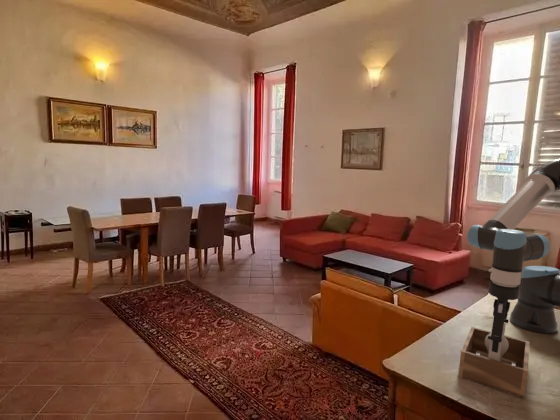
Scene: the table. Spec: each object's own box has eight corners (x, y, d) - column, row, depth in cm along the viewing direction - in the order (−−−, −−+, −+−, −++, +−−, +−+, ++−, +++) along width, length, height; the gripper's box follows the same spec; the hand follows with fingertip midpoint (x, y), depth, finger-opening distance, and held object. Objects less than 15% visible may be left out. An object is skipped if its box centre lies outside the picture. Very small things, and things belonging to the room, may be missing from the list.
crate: (469, 348, 122) (471, 326, 121) (526, 365, 113) (529, 341, 112) (458, 376, 106) (461, 351, 105) (524, 398, 97) (527, 371, 96)
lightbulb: (477, 364, 111) (481, 330, 110) (492, 361, 113) (495, 327, 112) (495, 375, 106) (499, 339, 104) (510, 371, 108) (514, 336, 106)
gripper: (494, 270, 118) (486, 332, 121) (484, 291, 98) (475, 365, 101) (521, 275, 114) (513, 339, 117) (517, 298, 93) (507, 375, 97)
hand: (495, 351), depth 109 cm, fingers open, 13 cm apart
